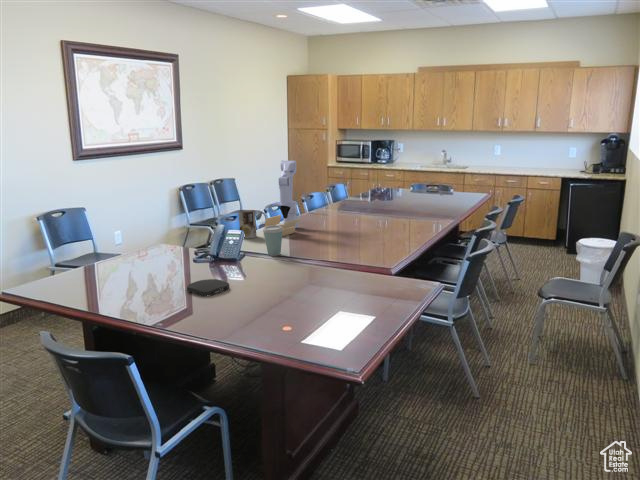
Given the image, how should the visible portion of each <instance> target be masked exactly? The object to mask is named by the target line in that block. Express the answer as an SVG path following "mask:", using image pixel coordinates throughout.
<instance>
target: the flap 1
mask: <svg viewBox="0 0 640 480" xmlns="http://www.w3.org/2000/svg"><path fill="white" fill-rule="evenodd" d="M281 218H282V214H278V215H274V216H271V217H266V218H265V222H264V223H265V224H264V227H266V226H270V225H281V224H280V223H281Z"/></svg>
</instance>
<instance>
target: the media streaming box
mask: <svg viewBox="0 0 640 480" xmlns="http://www.w3.org/2000/svg"><path fill="white" fill-rule="evenodd" d="M228 289H229V290H230V283H229V282H227V281H225V280H222V279H217V278H215V279H214V278H213V279H200V280H197V281H193V282H192V283H189V284H188V285H187V286H186V291H187V292H188V291H189V292H188V293H190V292H192V293H191V294H193V293H196V294H198V295H197V296H199V295H201V297H208V296H207V295H211V296H214V295H213V294H215V295H217V294H216V293H218V294H220V292H221V293H224V292H227V291H229V290H228ZM226 290H227V291H226ZM223 291H224V292H223ZM196 294H195V295H196Z"/></svg>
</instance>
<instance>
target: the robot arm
mask: <svg viewBox="0 0 640 480" xmlns="http://www.w3.org/2000/svg"><path fill="white" fill-rule="evenodd" d="M280 170H281V172H280V177H278V189H279V202H274V206H275V207H279V210H280V212H281V215H282V217H283V224H284V223H285V222H289V221H292V220H296V219H299V217H298V215H297V213H298V208H297V205H298V204H297V202H296V201H294V199H293V187H294V186H293V183H294V182H293V181H294V180H293V179H294V175H296V174H297V160H281V161H280ZM297 228H299V221H298V222H297V223H296V225H295V229H297Z"/></svg>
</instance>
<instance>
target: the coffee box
mask: <svg viewBox="0 0 640 480" xmlns="http://www.w3.org/2000/svg"><path fill="white" fill-rule="evenodd" d="M256 221H257V219H256V210H254V209H251V210H249V209H248V210H245V209H244V210H240V211H239V212H238V222H239V231H240V230H243V231H244V233H245V238H244V239H256V237H257V235H258V234H257V222H256Z"/></svg>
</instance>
